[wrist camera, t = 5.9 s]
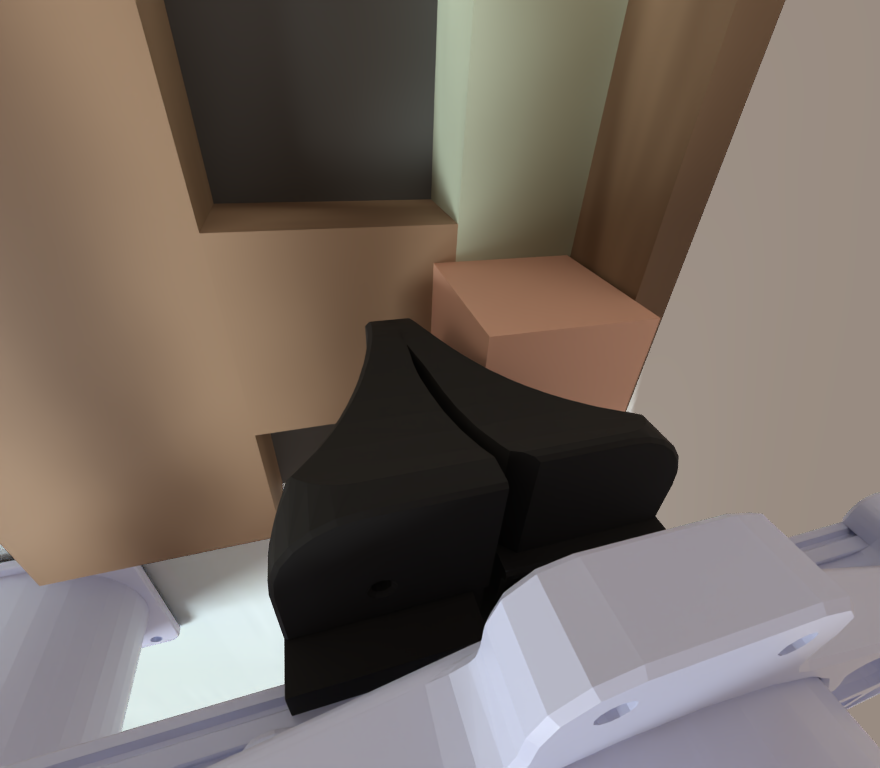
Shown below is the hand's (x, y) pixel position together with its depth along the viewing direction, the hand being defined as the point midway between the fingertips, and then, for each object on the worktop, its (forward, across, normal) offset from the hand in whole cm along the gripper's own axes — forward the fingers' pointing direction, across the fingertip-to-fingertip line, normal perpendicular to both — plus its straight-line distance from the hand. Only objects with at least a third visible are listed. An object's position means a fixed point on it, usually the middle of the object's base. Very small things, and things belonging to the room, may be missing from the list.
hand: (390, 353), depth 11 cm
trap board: (+4, +2, 0) cm, 5 cm away
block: (+1, -3, 0) cm, 4 cm away
